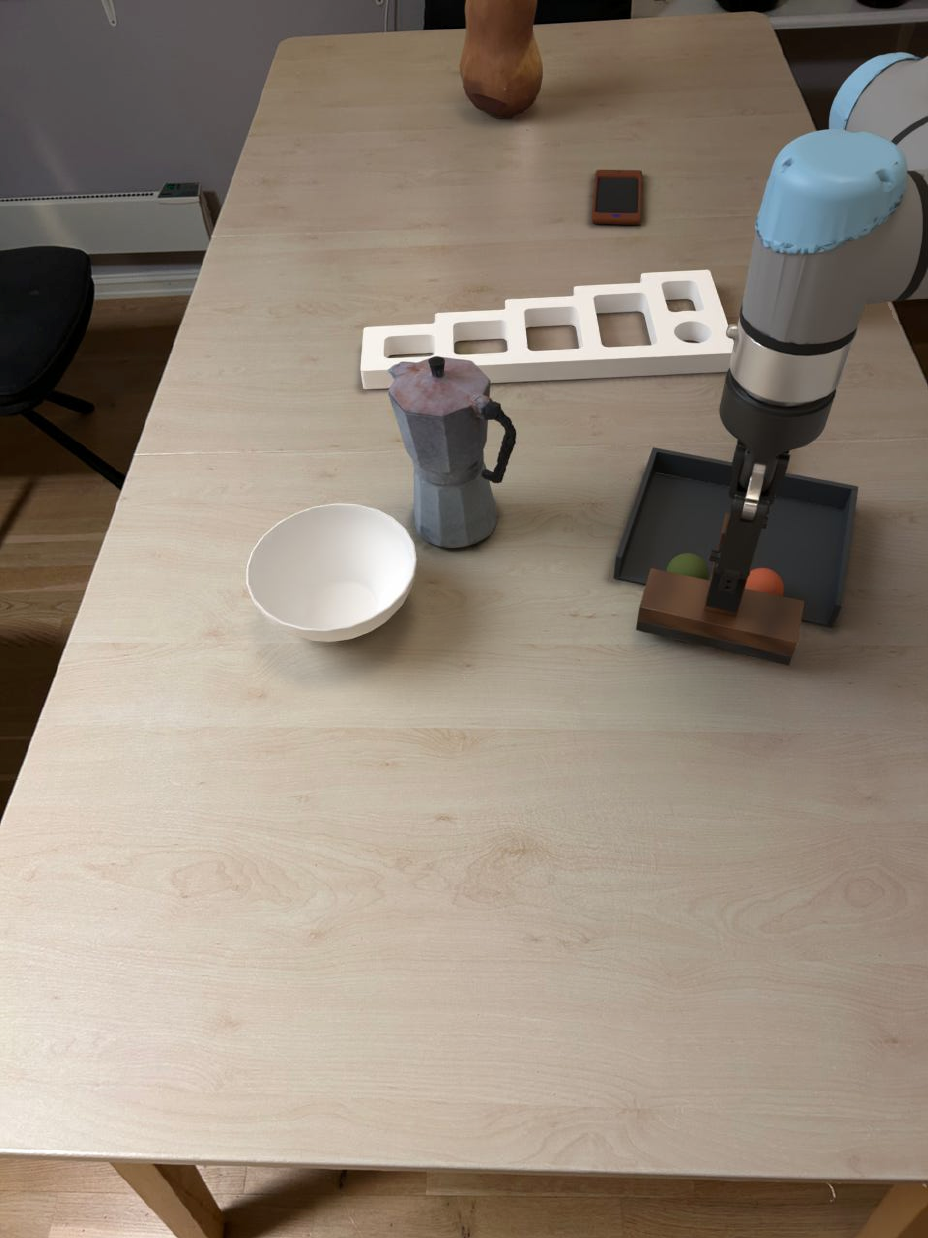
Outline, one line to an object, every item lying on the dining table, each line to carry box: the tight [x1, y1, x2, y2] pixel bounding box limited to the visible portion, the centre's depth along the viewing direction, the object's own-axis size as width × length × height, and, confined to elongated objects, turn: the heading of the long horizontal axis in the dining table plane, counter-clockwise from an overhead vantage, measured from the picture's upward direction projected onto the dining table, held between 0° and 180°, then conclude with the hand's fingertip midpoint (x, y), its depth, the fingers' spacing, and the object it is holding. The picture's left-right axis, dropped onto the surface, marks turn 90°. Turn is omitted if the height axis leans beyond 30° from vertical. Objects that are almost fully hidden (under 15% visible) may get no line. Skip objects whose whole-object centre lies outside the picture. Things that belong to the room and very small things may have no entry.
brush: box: [635, 513, 804, 667], centre depth 82 cm, size 14×5×14 cm, turn 71°
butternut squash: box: [459, 0, 544, 120], centre depth 150 cm, size 14×13×25 cm
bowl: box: [245, 502, 418, 643], centre depth 90 cm, size 16×16×7 cm
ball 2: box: [745, 568, 784, 596], centre depth 89 cm, size 4×4×4 cm
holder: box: [359, 269, 735, 390], centre depth 118 cm, size 45×18×3 cm, turn 91°
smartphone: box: [591, 169, 643, 226], centre depth 139 cm, size 7×1×15 cm
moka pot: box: [387, 356, 517, 549], centre depth 91 cm, size 10×15×20 cm, turn 55°
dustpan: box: [613, 446, 859, 629], centre depth 97 cm, size 27×21×3 cm
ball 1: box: [666, 553, 708, 580], centre depth 90 cm, size 4×4×4 cm
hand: (724, 592), depth 83 cm, fingers closed on brush, 2 cm apart
